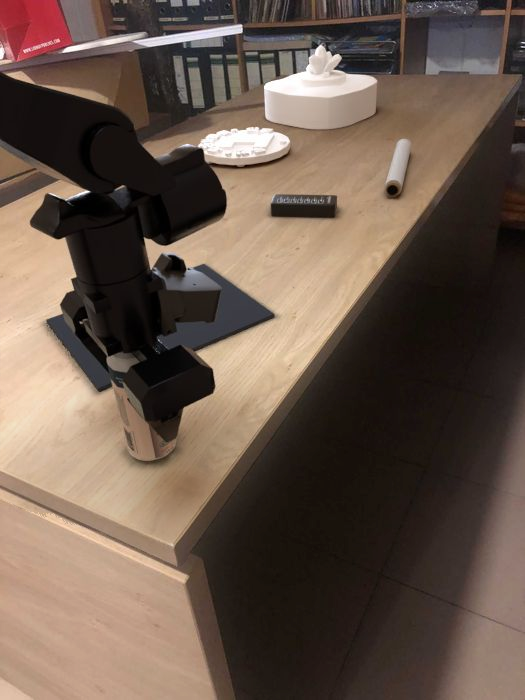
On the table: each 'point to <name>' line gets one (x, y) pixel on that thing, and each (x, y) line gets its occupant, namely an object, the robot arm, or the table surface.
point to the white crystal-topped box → (321, 96)
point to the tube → (398, 168)
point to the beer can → (134, 415)
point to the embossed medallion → (244, 146)
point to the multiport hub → (304, 205)
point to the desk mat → (230, 319)
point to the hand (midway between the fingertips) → (148, 413)
